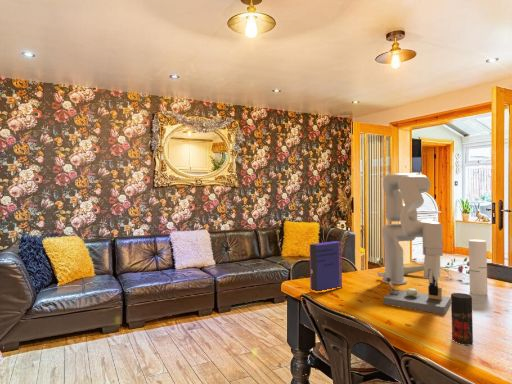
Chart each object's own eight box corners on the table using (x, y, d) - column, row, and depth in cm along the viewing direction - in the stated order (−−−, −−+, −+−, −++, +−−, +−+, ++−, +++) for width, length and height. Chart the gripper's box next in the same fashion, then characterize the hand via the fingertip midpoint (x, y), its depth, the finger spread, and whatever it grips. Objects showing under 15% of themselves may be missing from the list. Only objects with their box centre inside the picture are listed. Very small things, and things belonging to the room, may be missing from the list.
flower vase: (407, 286, 211) (473, 277, 197) (405, 284, 200) (475, 275, 187) (402, 266, 215) (467, 256, 201) (400, 264, 205) (468, 253, 191)
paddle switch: (428, 297, 152) (428, 286, 152) (429, 296, 154) (429, 285, 154) (441, 299, 149) (441, 287, 149) (442, 298, 150) (441, 286, 151)
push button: (405, 294, 155) (405, 290, 155) (407, 292, 158) (407, 287, 158) (416, 296, 152) (415, 291, 152) (418, 293, 156) (418, 289, 156)
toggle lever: (391, 291, 160) (384, 278, 161) (392, 290, 161) (386, 277, 163) (395, 290, 159) (388, 277, 160) (396, 289, 160) (390, 276, 162)
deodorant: (448, 338, 119) (447, 293, 119) (464, 337, 119) (463, 292, 119) (459, 345, 113) (458, 298, 113) (477, 344, 113) (476, 297, 113)
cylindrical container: (490, 295, 165) (488, 241, 165) (473, 294, 166) (472, 241, 166) (483, 290, 172) (482, 239, 172) (467, 290, 173) (466, 239, 173)
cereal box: (335, 286, 187) (334, 240, 187) (342, 288, 183) (341, 241, 183) (310, 291, 177) (309, 244, 177) (317, 293, 173) (316, 245, 173)
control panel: (383, 304, 155) (383, 296, 155) (393, 295, 168) (393, 288, 168) (444, 314, 140) (444, 306, 140) (451, 304, 153) (450, 296, 153)
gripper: (426, 248, 157) (427, 289, 157) (418, 253, 145) (419, 297, 145) (445, 249, 152) (446, 292, 152) (439, 254, 141) (440, 300, 140)
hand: (433, 294), depth 149 cm, fingers closed
